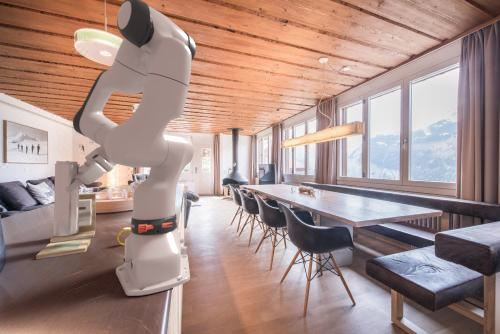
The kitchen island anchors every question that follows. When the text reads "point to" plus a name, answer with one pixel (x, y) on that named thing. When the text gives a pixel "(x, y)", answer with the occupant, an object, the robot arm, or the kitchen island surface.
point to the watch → (121, 232)
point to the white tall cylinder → (66, 199)
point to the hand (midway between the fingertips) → (65, 190)
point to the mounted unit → (83, 219)
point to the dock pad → (64, 248)
